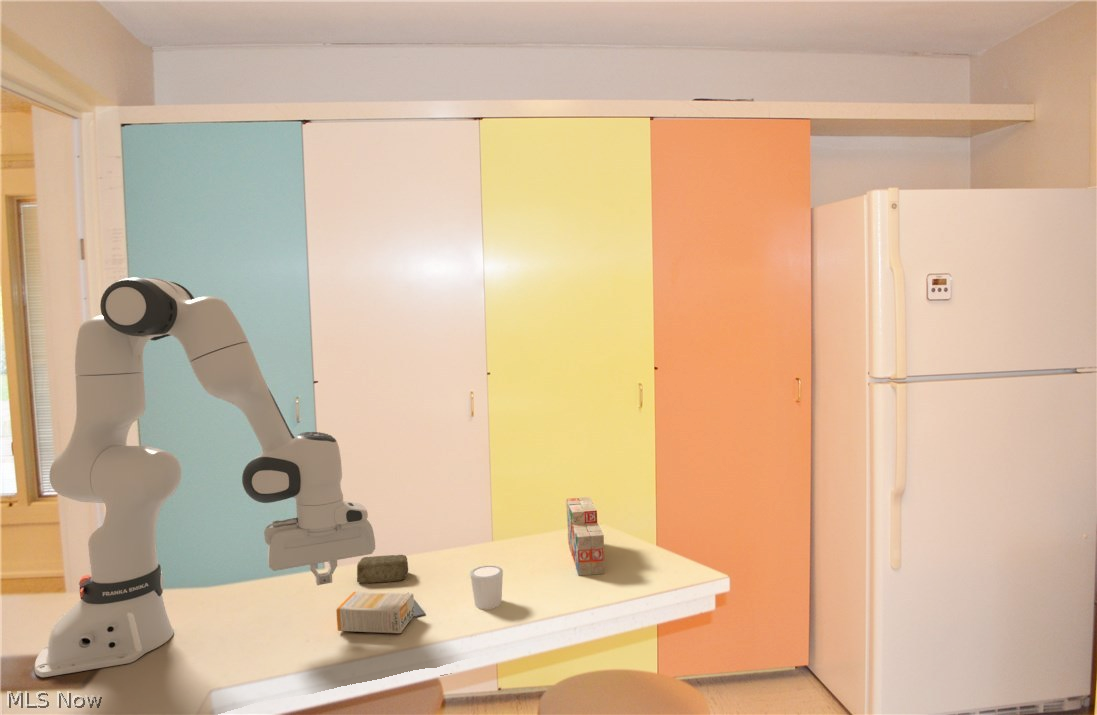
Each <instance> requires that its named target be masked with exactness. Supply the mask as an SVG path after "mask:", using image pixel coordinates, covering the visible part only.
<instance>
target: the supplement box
mask: <svg viewBox="0 0 1097 715" xmlns="http://www.w3.org/2000/svg"><path fill="white" fill-rule="evenodd" d="M414 600H415V598H414V593H412V592H411V593H410V592H406V593H405V592H372V591H371V592H370V591H368V592H367V591H366V592H365V591H354V592H352V593H351V594H350V595H349V596H348V597H347V598H346V599H345V600H344V601H343V602H342V603H341V604H340V605H339V606H338V607H337V608H336V624H337V631H339V632H356V633H359V632H360V633H363V632H364V633H381V634H382V633H384V634H385V633H387V634H388V633H389V634H390V633H391V634H401V633H402V632H403V630H404V629H405V628H406V627H407V626H408V624H409V623H410V621H411V620H412V619H413V618H412V617H413V616H414V615H415V609H414Z"/></svg>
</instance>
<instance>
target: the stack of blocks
mask: <svg viewBox="0 0 1097 715" xmlns="http://www.w3.org/2000/svg"><path fill="white" fill-rule="evenodd" d="M565 506H566V522H567V540H568V543H567V544H568V546H569V551H570V555H571V557H572V560H573V562H574V566H575V570H576V572H577V575H578V576H587V575H588V576H590V575H591V576H592V575H601V574H602V575H604V574H605V553H604V552H605V549H604V548H605V539H604V538H605V537H604V533H603V531H602V529H601V527H600V525H599V523H598V510H597V508H596V507H595V505H594V503H593V501H592V499H591V497H590V496H588V497H587V496H584V497H572V498H566V499H565Z"/></svg>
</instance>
